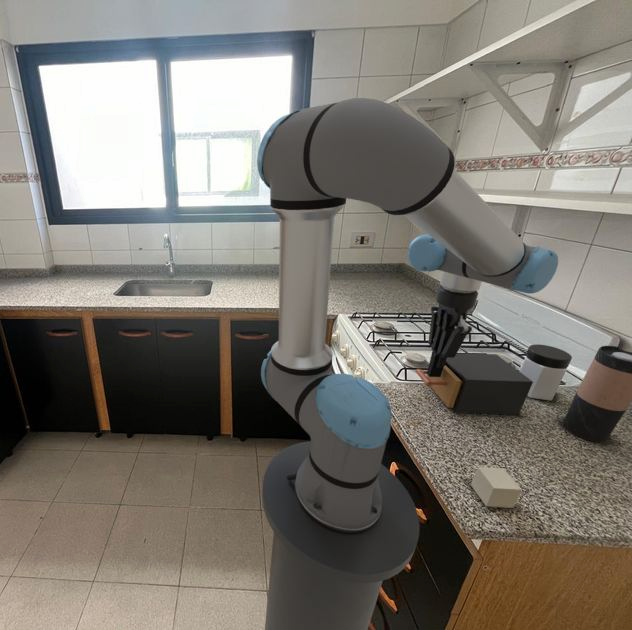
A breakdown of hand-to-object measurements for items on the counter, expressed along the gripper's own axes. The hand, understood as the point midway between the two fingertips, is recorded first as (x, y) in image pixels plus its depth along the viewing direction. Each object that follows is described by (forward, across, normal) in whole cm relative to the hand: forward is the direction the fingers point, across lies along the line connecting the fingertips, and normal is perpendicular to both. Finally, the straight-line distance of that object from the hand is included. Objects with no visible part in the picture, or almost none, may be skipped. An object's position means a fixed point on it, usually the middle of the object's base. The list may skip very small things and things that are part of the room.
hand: (433, 375), depth 88 cm
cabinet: (+7, 0, -11) cm, 13 cm away
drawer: (+6, 0, -6) cm, 8 cm away
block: (+6, -30, +3) cm, 31 cm away
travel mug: (+7, -11, -29) cm, 32 cm away
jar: (+7, +4, -29) cm, 30 cm away
